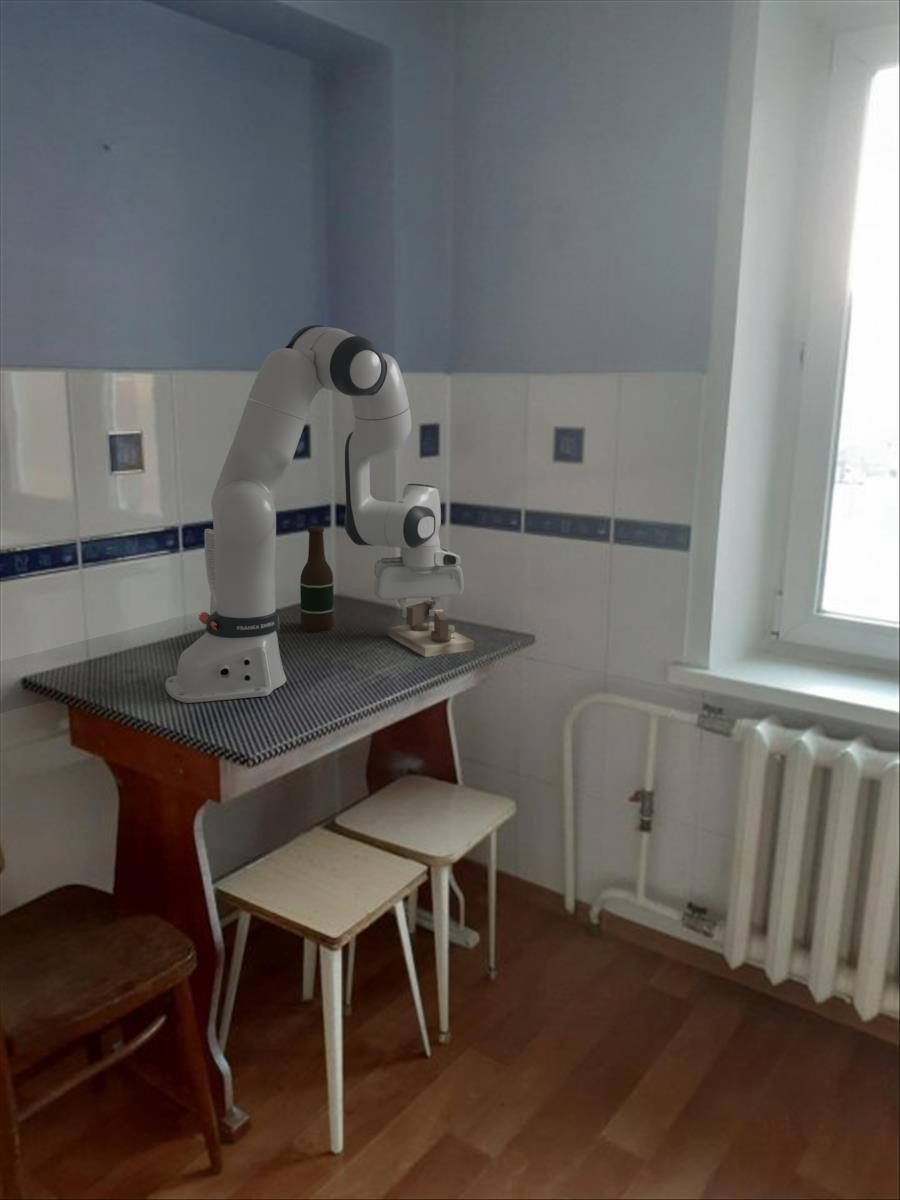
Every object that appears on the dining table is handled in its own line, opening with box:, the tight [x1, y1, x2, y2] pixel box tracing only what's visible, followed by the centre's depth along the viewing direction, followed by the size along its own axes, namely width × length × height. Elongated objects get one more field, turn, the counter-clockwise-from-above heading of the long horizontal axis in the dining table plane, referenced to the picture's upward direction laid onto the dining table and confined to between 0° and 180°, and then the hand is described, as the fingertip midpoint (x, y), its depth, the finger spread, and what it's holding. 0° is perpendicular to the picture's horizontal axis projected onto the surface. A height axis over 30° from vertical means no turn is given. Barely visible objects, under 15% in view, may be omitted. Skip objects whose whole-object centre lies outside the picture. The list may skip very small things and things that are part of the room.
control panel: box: [387, 620, 475, 658], centre depth 207 cm, size 12×18×4 cm
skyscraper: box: [203, 528, 216, 616], centre depth 199 cm, size 8×8×28 cm
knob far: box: [405, 599, 434, 631], centre depth 210 cm, size 7×4×6 cm, turn 141°
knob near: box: [431, 609, 451, 642], centre depth 202 cm, size 7×4×6 cm, turn 12°
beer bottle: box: [299, 525, 335, 633], centre depth 214 cm, size 8×8×24 cm
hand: (418, 616), depth 210 cm, fingers closed on knob far, 4 cm apart
